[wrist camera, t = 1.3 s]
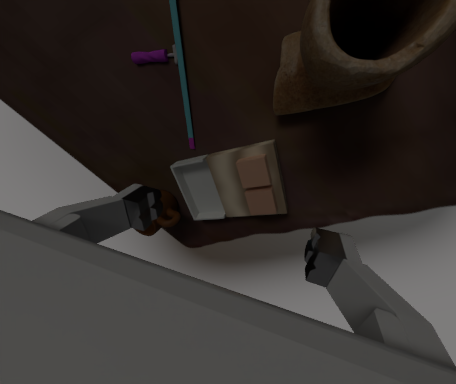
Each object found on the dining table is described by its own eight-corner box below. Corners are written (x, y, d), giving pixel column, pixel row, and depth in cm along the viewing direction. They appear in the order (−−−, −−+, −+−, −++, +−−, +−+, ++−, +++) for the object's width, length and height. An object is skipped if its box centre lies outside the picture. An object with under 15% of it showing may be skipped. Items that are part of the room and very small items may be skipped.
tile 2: (272, 184, 34) (271, 190, 32) (277, 207, 36) (276, 213, 34) (247, 188, 36) (244, 193, 34) (253, 209, 38) (250, 215, 36)
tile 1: (265, 153, 32) (264, 157, 30) (271, 180, 34) (270, 184, 32) (238, 159, 34) (235, 163, 32) (245, 183, 36) (243, 188, 34)
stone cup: (412, -29, 20) (598, -211, 7) (390, 95, 25) (478, 108, 13) (268, 22, 25) (239, -34, 13) (275, 114, 31) (259, 136, 18)
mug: (190, 190, 44) (167, 212, 37) (196, 215, 48) (176, 241, 40) (150, 187, 48) (121, 207, 41) (158, 211, 52) (134, 234, 44)
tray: (208, 154, 38) (202, 159, 36) (228, 210, 44) (223, 218, 41) (177, 161, 41) (169, 166, 39) (199, 213, 47) (194, 220, 44)
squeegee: (103, -56, 26) (164, -76, 23) (113, -50, 27) (172, -67, 24) (153, 146, 41) (194, 149, 38) (157, 143, 42) (197, 146, 39)
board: (274, 139, 32) (273, 143, 30) (287, 206, 38) (287, 213, 36) (210, 153, 38) (205, 157, 36) (230, 210, 43) (226, 217, 41)
